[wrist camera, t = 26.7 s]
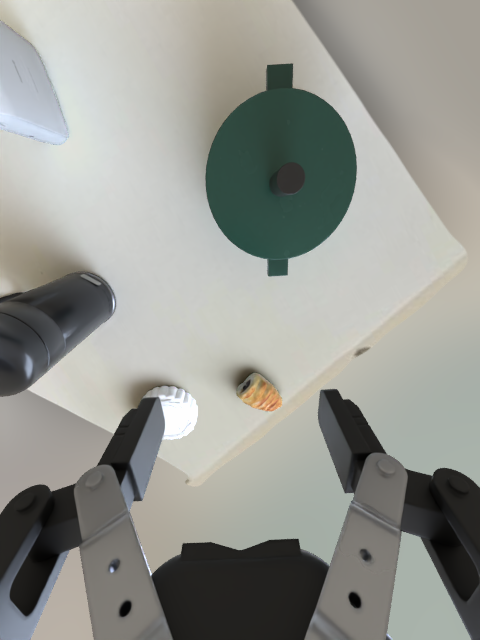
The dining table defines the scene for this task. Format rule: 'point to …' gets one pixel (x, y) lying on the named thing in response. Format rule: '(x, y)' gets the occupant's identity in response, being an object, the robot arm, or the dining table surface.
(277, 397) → the pastry
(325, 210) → the lid
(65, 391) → the dining table surface
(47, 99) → the photo printer
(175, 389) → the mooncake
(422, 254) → the dining table surface
